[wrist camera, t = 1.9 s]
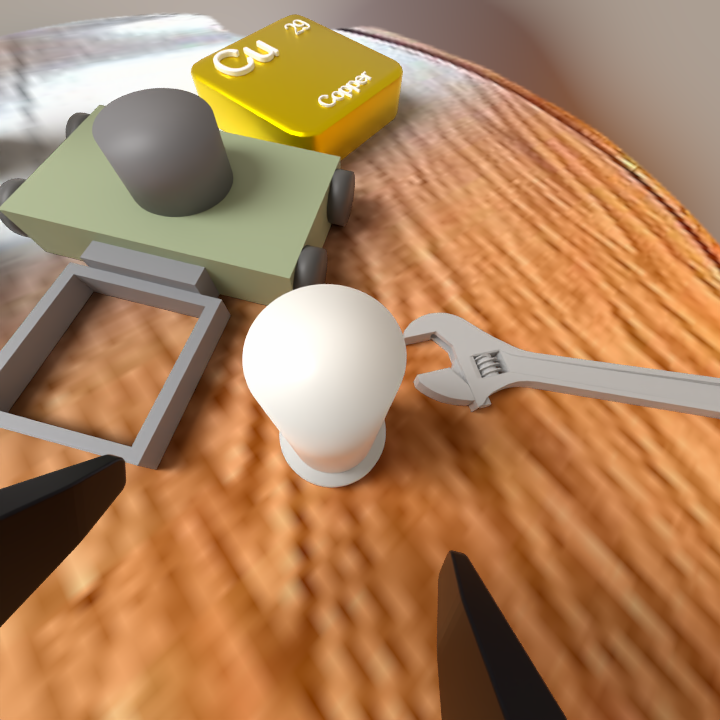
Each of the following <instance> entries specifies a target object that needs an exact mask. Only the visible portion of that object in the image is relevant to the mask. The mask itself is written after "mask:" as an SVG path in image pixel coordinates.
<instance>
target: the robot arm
mask: <svg viewBox="0 0 720 720" xmlns="http://www.w3.org/2000/svg"><path fill="white" fill-rule="evenodd" d="M125 483H126V469H125V460H124V459H123V458H122V457H119V456H115V455H111V454H107V455H103V456H100V457H97V458H94V459H91V460H88V461H85V462H82V463H79V464H76V465H73V466H70V467H67V468H64V469H60V470H57V471H54V472H51V473H48V474H45V475H42V476H39V477H36V478H33V479H30V480H27V481H24V482H21V483H18V484H15V485H12V486H9V487H5V488H2V489H0V627H1V626H2V625H3V624H4V623H5V622H6V621H7V620H8V619H9V618H10V616H11V615H12V614H13V613H14V612H15V611H16V610H17V609H18V608H19V607H20V606H21V605H22V604H23V603H24V602H25V601H26V600H27V598H28V597H29V596H30V595H31V594H32V593H33V592H34V591H35V590H36V589H37V588H38V587H39V586H40V585H41V584H42V583H43V582H44V581H45V579H46V578H47V577H48V576H49V575H50V574H51V573H52V572H53V571H54V570H55V569H56V568H57V567H58V566H59V565H60V564H61V563H62V562H63V560H64V559H65V558H66V557H67V556H68V555H69V554H70V553H71V552H72V551H73V550H74V549H75V548H76V547H77V545H78V544H79V543H80V542H81V541H82V540H83V539H84V537H85V536H86V535H87V534H88V533H89V531H90V530H91V529H92V528H93V526H94V525H95V524H96V523H97V521H98V520H99V519H100V518H101V516H102V515H103V514H104V513H105V511H106V510H107V509H108V508H109V506H110V505H111V504H112V503H113V501H114V500H115V499H116V498H117V496H118V495H119V494H120V493H121V491H122V490H123V488H124V486H125ZM437 661H438V675H439V689H440V702H441V716H442V720H567V718H566V716H565V715H564V713H563V712H562V710H561V708H560V707H559V705H558V703H557V702H556V700H555V699H554V697H553V695H552V694H551V692H550V690H549V689H548V687H547V685H546V684H545V682H544V681H543V679H542V677H541V676H540V674H539V672H538V671H537V669H536V668H535V666H534V664H533V663H532V661H531V659H530V658H529V656H528V654H527V653H526V651H525V650H524V648H523V646H522V645H521V643H520V641H519V640H518V638H517V637H516V635H515V633H514V632H513V630H512V628H511V627H510V625H509V624H508V622H507V620H506V619H505V617H504V615H503V614H502V612H501V610H500V609H499V607H498V606H497V604H496V602H495V601H494V599H493V597H492V596H491V594H490V593H489V591H488V589H487V588H486V586H485V584H484V583H483V581H482V579H481V578H480V576H479V575H478V573H477V571H476V570H475V568H474V566H473V565H472V563H471V562H470V560H469V558H468V557H467V556H466V555H465V554H464V553H460V552H457V551H453V550H451V551H449V552H448V554H447V556H446V558H445V561H444V563H443V565H442V568H441V570H440V573H439V579H438V617H437Z"/></svg>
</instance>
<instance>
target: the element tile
mask: <svg viewBox="0 0 720 720" xmlns="http://www.w3.org/2000/svg"><path fill="white" fill-rule="evenodd" d="M191 75H192V78H193V81H194V84H195V87H196V90H197V92H198V95H199V97H201V98H202V99H204V100H205V101H206V102H207V103H208V104H209V105H210V106H211V108H212V110H213V113H214V116H215V119H216V122H217V125H218V128H220V129H221V130H223V131H225V132H228V133H233V134H237V135H242V136H246V137H251V138H256V139H260V140H265V141H269V142H274V143H279V144H283V145H288V146H293V147H297V148H302V149H306V150H311V151H316V152H320V153H325V154H329V155H334V156H339V157H341V160H342V159H343V158H345V157H346V156H347V155H349V154H350V153H351V152H352V151H354V150H355V149H356V148H357V147H359V146H360V145H361V144H363V143H364V142H365V141H366V140H368V139H369V138H370V137H371V136H373V135H374V134H375V133H377V132H378V131H379V130H380V129H382V128H383V127H384V126H385V125H387V124H388V123H389V122H391V121H392V120H393V119H394V118H395V117H396V114H397V110H398V103H399V96H400V89H401V82H402V75H403V70H402V67H401V66H400V64H399V63H398V62H396V61H395V60H393V59H391V58H389V57H387V56H385V55H383V54H381V53H378V52H376V51H374V50H372V49H370V48H368V47H366V46H364V45H362V44H360V43H358V42H356V41H353V40H351V39H349V38H347V37H345V36H343V35H341V34H339V33H337V32H335V31H333V30H331V29H328V28H326V27H324V26H322V25H320V24H318V23H316V22H314V21H312V20H310V19H308V18H305V17H303V16H300V15H290V16H287V17H285V18H283V19H280V20H278V21H276V22H275V23H272V24H271V25H269V26H267V27H265V28H263V29H261V30H259V31H257V32H255V33H253V34H251V35H249V36H247V37H245V38H243V39H241V40H239V41H237V42H235V43H233V44H231V45H229V46H227V47H225V48H223V49H221V50H219V51H217V52H215V53H213V54H211V55H209V56H207V57H205V58H203V59H201V60H200V61H198V62H197V63H195V64H194V65H193V67H192V69H191Z"/></svg>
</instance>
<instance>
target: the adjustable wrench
mask: <svg viewBox="0 0 720 720" xmlns="http://www.w3.org/2000/svg"><path fill="white" fill-rule="evenodd" d="M403 337H404V341H405V345H408V344H413V343H417V342H422V341H427V340H431V339H432V340H433V341H434V342H435V343H437V344H438V345H439V346H440V347H441V348H442V349H444V350H445V351H446V352H447V353H448V355H449V357H450V360H451V363H452V368H446V369H441V370H437V371H433V372H428V373H424V374H419V375H417V377H416V378H415V380H414V385H415V388H416V389H417V390H419V391H420V392H422V393H423V394H425V395H426V396H428V397H430V398H432V399H434V400H436V401H439V402H443V403H447V404H452V405H462V406H468V405H469V408H470V410H471V412H473V411H474V410H476V409H478V408H484V407H488V406H490V405H491V402H490V400H489V397H488V396H490V395H492V394H493V393H495V392H497V391H499V390H502V389H505V388H509V387H529V388H535V389H541V390H547V391H553V392H559V393H565V394H571V395H578V396H584V397H590V398H596V399H602V400H608V401H614V402H620V403H627V404H633V405H639V406H645V407H651V408H657V409H663V410H669V411H675V412H682V413H688V414H694V415H700V416H706V417H712V418H718V419H720V378H714V377H707V376H700V375H692V374H685V373H678V372H670V371H663V370H656V369H649V368H641V367H634V366H627V365H619V364H612V363H605V362H598V361H590V360H583V359H576V358H569V357H561V356H554V355H547V354H539V353H533V352H529V351H524V350H521V349H518V348H516V347H513V346H511V345H509V344H507V343H505V342H503V341H501V340H499V339H497V338H494V337H493V336H491V335H489V334H487V333H485V332H484V331H482V330H480V329H479V328H477V327H475V326H474V325H472V324H471V323H469V322H467V321H466V320H464V319H462V318H460V317H458V316H455V315H452V314H447V313H432V314H427V315H424V316H421V317H420V318H418V319H416V320H414V321H413V322H411V324H410V325H409V326H408V327H407V328H406V330H405V331H404V334H403ZM494 362H495V363H494ZM496 367H498V368H496ZM498 372H500V374H499V373H498Z"/></svg>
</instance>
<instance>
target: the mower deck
mask: <svg viewBox="0 0 720 720" xmlns="http://www.w3.org/2000/svg"><path fill="white" fill-rule="evenodd" d="M354 187H355V175H354V172H352V171H347V170H343V169H341V157H339V156H334V155H329V154H325V153H320V152H316V151H311V150H306V149H302V148H297V147H293V146H288V145H283V144H279V143H274V142H269V141H265V140H260V139H256V138H251V137H246V136H242V135H237V134H233V133H228V132H223V131H219V128H218V125H217V122H216V119H215V116H214V113H213V110H212V108H211V106H210V105H209V104H208V103H207V102H206V101H205V100H204V99H202V98H201V97H199V96H197V95H195V94H193V93H190V92H187V91H183V90H178V89H170V88H155V89H146V90H141V91H136V92H133V93H130V94H127V95H124V96H122V97H120V98H118V99H116V100H114V101H112V102H111V103H109V104H108V105H107V106H103V105H99V106H98V107H97V108H96V109H95V110H94V111H93V112H92V113H91V114H86V113H75V114H73V115H72V116H71V117H70V118H69V120H68V122H67V125H66V140H65V141H64V142H63V143H62V144H61V145H60V146H59V147H58V148H57V149H56V150H55V151H54V152H53V153H52V154H51V155H50V156H49V157H48V158H47V159H46V160H45V161H44V162H43V163H42V164H41V165H40V166H39V167H38V168H37V169H36V170H35V172H34V173H33V174H32V175H31V176H30V177H29V178H28V179H27V180H26V179H20V178H17V179H11V180H8V181H6V182H5V183H3V184H2V185H1V186H0V219H1V220H2V222H3V223H4V224H5V225H6V226H7V227H8V228H9V229H10V230H11V231H13V232H15V233H17V234H19V235H22V236H25V237H29V238H31V239H32V240H34V241H35V242H36V243H37V244H38V245H39V246H40V247H41V248H43V249H44V250H45V251H46V252H49V253H54V254H58V255H62V256H66V257H70V258H74V259H78V260H82V261H84V262H85V263H86V264H87V265H88V266H89V267H87V266H83V265H79V264H75V263H71V262H70V263H69V264H68V265H67V267H66V268H65V269H64V270H63V272H62V273H61V274H60V276H59V277H58V278H57V279H56V281H55V282H54V283H53V285H52V286H51V287H50V288H49V290H48V291H47V292H46V294H45V295H44V296H43V297H42V299H41V300H40V301H39V302H38V304H37V305H36V306H35V308H34V309H33V310H32V311H31V313H30V314H29V315H28V317H27V318H26V319H25V320H24V322H23V323H22V324H21V326H20V327H19V328H18V329H17V331H16V332H15V333H14V335H13V336H12V337H11V338H10V340H9V341H8V342H7V344H6V345H5V346H4V347H3V349H2V350H1V351H0V428H4V429H7V430H11V431H14V432H18V433H22V434H25V435H29V436H33V437H36V438H40V439H43V440H47V441H51V442H54V443H58V444H62V445H65V446H69V447H72V448H76V449H80V450H83V451H87V452H90V453H94V454H98V455H101V456H103V455H107V454H111V455H115V456H119V457H122V458H123V459H124V460H125V462H127V463H130V464H134V465H137V466H142V467H146V468H150V469H155V470H156V469H157V467H158V465H159V463H160V461H161V459H162V457H163V455H164V453H165V451H166V449H167V446H168V444H169V442H170V440H171V438H172V436H173V434H174V432H175V430H176V428H177V426H178V424H179V422H180V420H181V417H182V415H183V413H184V411H185V409H186V407H187V405H188V403H189V401H190V399H191V397H192V395H193V393H194V391H195V388H196V386H197V384H198V382H199V380H200V378H201V376H202V374H203V372H204V370H205V368H206V366H207V364H208V362H209V359H210V357H211V355H212V353H213V351H214V349H215V347H216V345H217V343H218V341H219V339H220V337H221V335H222V333H223V330H224V328H225V326H226V324H227V322H228V320H229V318H230V316H231V315H230V313H229V311H228V310H227V308H226V306H225V304H224V302H223V301H222V299H218V296H219V294H222V295H226V296H230V297H234V298H238V299H242V300H246V301H250V302H254V303H259V304H263V305H267V306H268V305H269V304H270V303H272V302H273V301H274V300H275V299H277V298H279V297H280V296H282V295H284V294H286V293H288V292H290V291H292V290H295V289H298V288H301V287H305V286H310V285H318V284H324V282H325V277H326V271H327V251H326V249H323V248H322V247H323V245H324V242H325V240H326V237H327V234H328V232H329V229H330V227H331V224H336V225H340V226H345V225H346V223H347V221H348V218H349V215H350V211H351V207H352V202H353V196H354ZM93 292H97V293H101V294H105V295H109V296H113V297H117V298H121V299H125V300H129V301H133V302H137V303H141V304H145V305H149V306H153V307H157V308H161V309H165V310H169V311H173V312H177V313H181V314H185V315H189V316H193V317H197V318H199V320H198V322H197V323H196V325H195V327H194V329H193V331H192V333H191V335H190V337H189V339H188V341H187V342H186V344H185V346H184V348H183V350H182V352H181V354H180V356H179V358H178V359H177V361H176V363H175V365H174V367H173V369H172V371H171V373H170V375H169V377H168V378H167V380H166V382H165V384H164V386H163V388H162V390H161V392H160V394H159V396H158V397H157V399H156V401H155V403H154V405H153V407H152V409H151V411H150V413H149V415H148V416H147V418H146V420H145V422H144V424H143V426H142V428H141V430H140V432H139V434H138V435H137V437H136V439H135V441H134V443H133V445H132V447H130V446H126V445H122V444H119V443H115V442H111V441H108V440H104V439H100V438H97V437H93V436H89V435H86V434H82V433H79V432H75V431H71V430H68V429H64V428H60V427H57V426H53V425H49V424H46V423H42V422H38V421H35V420H31V419H27V418H24V417H20V416H16V415H13V414H9V413H8V412H9V410H10V409H11V407H12V406H13V404H14V403H15V402H16V400H17V399H18V397H19V396H20V395H21V393H22V392H23V390H24V389H25V388H26V386H27V385H28V383H29V382H30V380H31V379H32V378H33V376H34V375H35V373H36V372H37V371H38V369H39V368H40V366H41V365H42V364H43V362H44V361H45V359H46V358H47V357H48V355H49V354H50V352H51V351H52V349H53V348H54V347H55V345H56V344H57V342H58V341H59V340H60V338H61V337H62V335H63V334H64V333H65V331H66V330H67V328H68V327H69V325H70V324H71V323H72V321H73V320H74V318H75V317H76V316H77V314H78V313H79V311H80V310H81V309H82V307H83V306H84V304H85V303H86V302H87V300H88V299H89V297H90V296H91V294H92V293H93Z"/></svg>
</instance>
